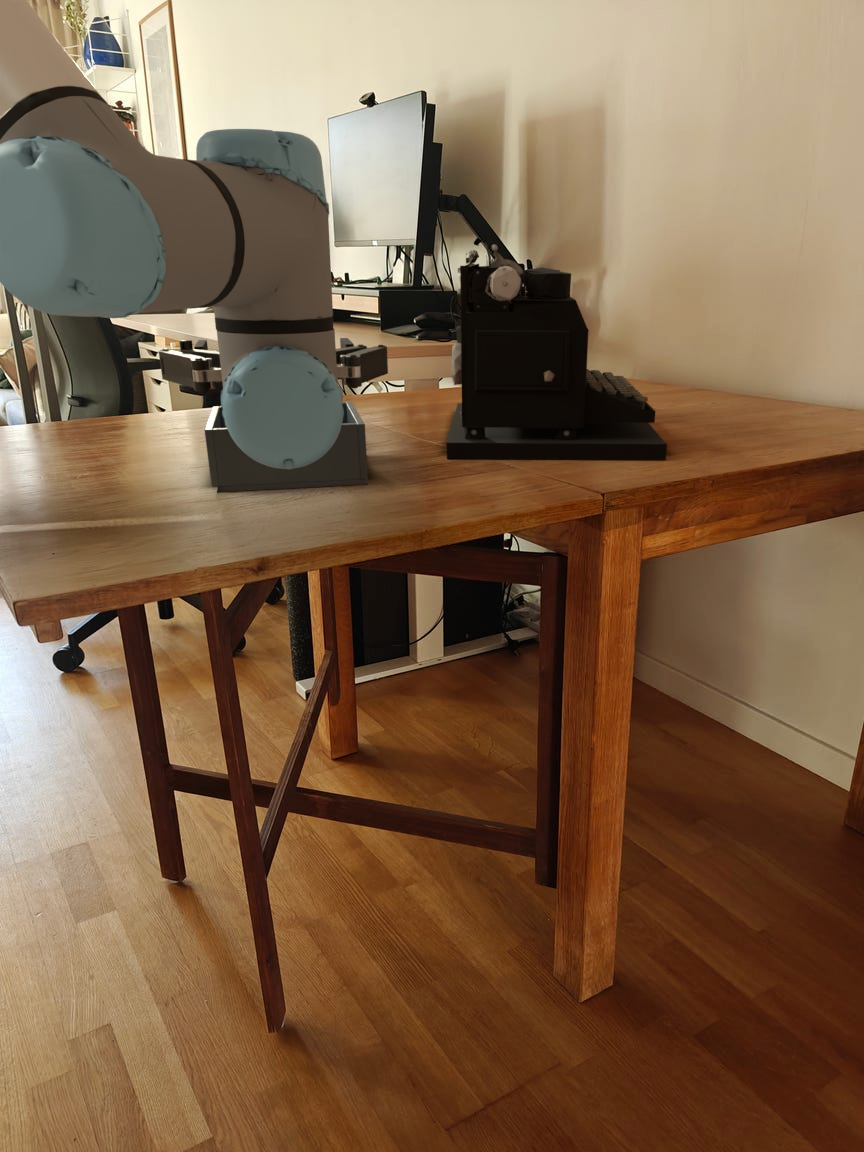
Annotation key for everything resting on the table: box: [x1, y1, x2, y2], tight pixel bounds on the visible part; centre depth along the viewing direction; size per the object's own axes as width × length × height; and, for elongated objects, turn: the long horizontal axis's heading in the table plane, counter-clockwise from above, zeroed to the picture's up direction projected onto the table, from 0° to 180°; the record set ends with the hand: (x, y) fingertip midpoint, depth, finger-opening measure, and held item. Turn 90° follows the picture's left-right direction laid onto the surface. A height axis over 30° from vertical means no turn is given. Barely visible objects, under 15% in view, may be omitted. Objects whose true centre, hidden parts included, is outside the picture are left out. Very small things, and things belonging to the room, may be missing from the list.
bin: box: [204, 401, 369, 493], centre depth 99 cm, size 17×16×7 cm
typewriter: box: [446, 237, 668, 461], centre depth 116 cm, size 31×27×25 cm
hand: (275, 353), depth 86 cm, fingers open, 13 cm apart
